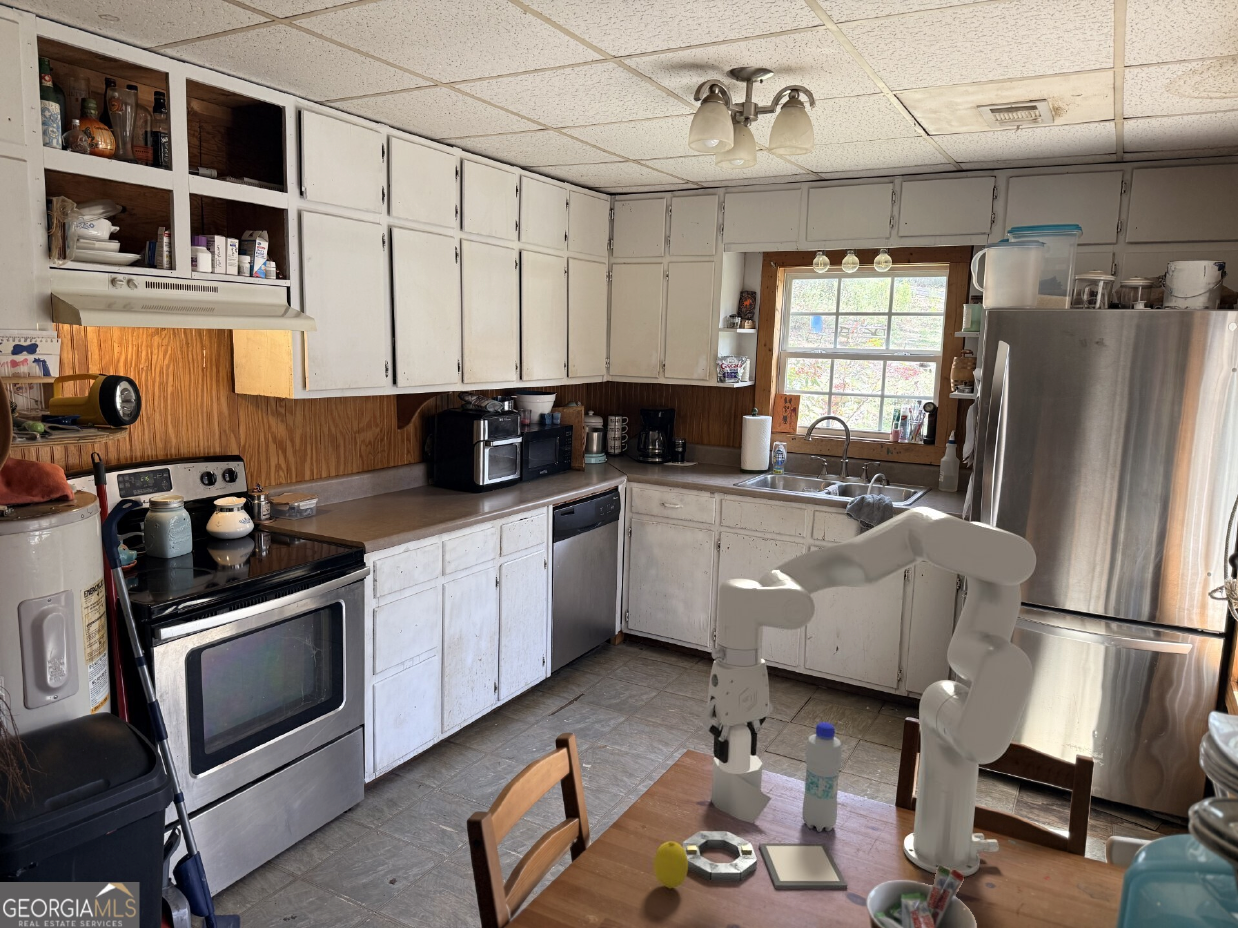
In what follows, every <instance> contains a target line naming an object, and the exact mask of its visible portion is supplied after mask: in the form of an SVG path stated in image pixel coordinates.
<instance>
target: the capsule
mask: <svg viewBox="0 0 1238 928" xmlns="http://www.w3.org/2000/svg"><path fill="white" fill-rule="evenodd" d="M726 740H728V742H729V747H728V762H727V763H722V762H721V761H720V760H719V767H720V769H722V770H723V771H725V772H728V773H732V774H742V773H746V772H747V771H749V769H750V756H751V733H750V730H749V729H748V727H747V726H746V724H745V723H742V724H738V725H733V726H729V729H728V733H727V736H726Z"/></svg>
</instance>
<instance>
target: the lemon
mask: <svg viewBox="0 0 1238 928" xmlns="http://www.w3.org/2000/svg"><path fill="white" fill-rule="evenodd" d="M653 871H654V875H655V877H656V879H657V881H658V882H659V883H660V884H661V885H662V886H664V887H666V888H668V889H673V888H675V887H678V886H680V885H681V884H683V882H684V881H685V879H686V878H687V875H688V871H689V870H688V860H687V855H686V852H685V850H684V848H683V847H682V844H680V843H678V842H676V841H673V840H670V841H666V842H664V843H662V844H661V845H660V846H659V847H658V849H657V850H656V851H655V855H654V859H653Z"/></svg>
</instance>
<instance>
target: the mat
mask: <svg viewBox="0 0 1238 928" xmlns="http://www.w3.org/2000/svg"><path fill="white" fill-rule="evenodd" d="M758 848H759V849H760V853H761V855H762V858H763V860H764V863H765V865H766V868H767V870H768V872H769V875H770V878H771V881H772V882H773V883H772V884H773V886H774V888H775V889H776V890H778V889H780V890H781V889H783V890H785V889H786V890H788V889H789V890H790V889H794V890H796V889H797V890H800V889H801V890H802V889H803V890H804V889H805V890H809V889H812V890H814V889H817V890H819V889H821V890H822V889H823V890H824V889H826V890H828V889H829V890H830V889H833V890H835V889H840V890H842V889H845V890H846V889H848V884H847V882H846V880H845V878H844V876H843V874H842V872H841V871H840V868H839V867H838V865H837V863H836V861H835V859H834V857H833V856H832V853H831V851H830V850H829V848H828V846H827V844H826V843H806V842H805V843H804V842H803V843H799V842H798V843H794V842H793V843H792V842H791V843H790V842H789V843H788V842H787V843H785V842H784V843H781V842H779V843H778V842H777V843H774V842H773V843H771V842H770V843H767V842H766V843H763V842H759V843H758Z"/></svg>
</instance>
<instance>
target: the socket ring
mask: <svg viewBox="0 0 1238 928" xmlns="http://www.w3.org/2000/svg"><path fill="white" fill-rule="evenodd" d="M681 846H682V847H683V848H684V850H685V852H686V855H687V860H688V870H687V871H690V872H692V873H693V874H696V875H697V876H699V877H701V878H703V879H704V880H706V881H708V882H712V883H713V882H716V883H717V882H721V883H722V882H725V883H727V882H737V883H738V882H742V881H743V880H745V878H747V877H748V876H750V875H751V874H752V873H753V872H754V871H756V870H757V866H758V858H757V856H756V853H755V850H754V847H753V845H752V843H751V842H750V841H748V840H747V839H743V838H742V837H740V836H738V835H736V834H733V833H731V832H729V831H723V830H722V831H721V830H717V831H714V830H711V831H710V830H709V831H708V830H705V831H704V830H703V831H702V830H700V831H697V832H696V833H694V834H693V835H691V836H690V837H688V838H686V839H685V840H684V841H682V844H681ZM707 849H724V850H726V851H729V852H730V853H732V854H735V855H736V856H737V858H736V859H735V860H733V861H732V862H714V861H711V860H709V859H707V858H706V857H703V856H702V855H701V853H702V852H704V851H706V850H707Z"/></svg>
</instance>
